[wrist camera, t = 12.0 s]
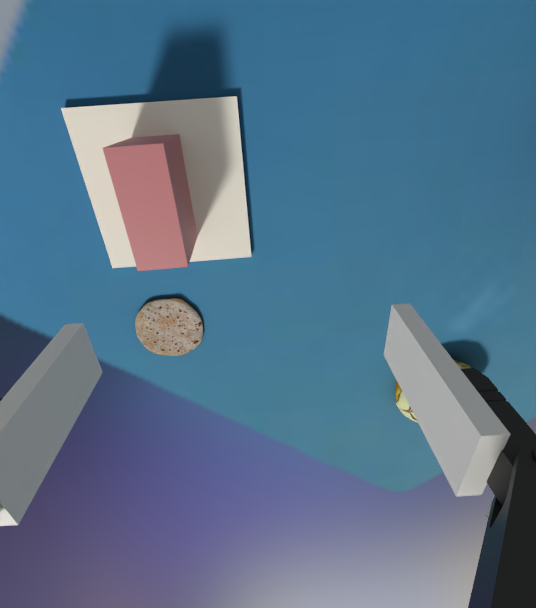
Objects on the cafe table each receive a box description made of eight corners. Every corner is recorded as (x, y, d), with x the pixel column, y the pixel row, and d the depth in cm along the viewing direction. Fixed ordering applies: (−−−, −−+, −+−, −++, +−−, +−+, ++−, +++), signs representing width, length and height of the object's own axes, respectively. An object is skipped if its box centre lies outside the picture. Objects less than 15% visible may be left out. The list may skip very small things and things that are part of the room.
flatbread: (199, 356, 42) (198, 361, 41) (135, 348, 41) (132, 353, 40) (208, 300, 38) (207, 305, 37) (137, 289, 37) (135, 293, 36)
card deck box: (197, 236, 33) (188, 266, 27) (156, 240, 33) (137, 270, 27) (179, 134, 29) (163, 143, 23) (131, 137, 29) (102, 148, 23)
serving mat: (236, 96, 28) (236, 96, 28) (251, 254, 35) (251, 256, 35) (64, 107, 28) (60, 108, 27) (114, 265, 35) (112, 268, 34)
